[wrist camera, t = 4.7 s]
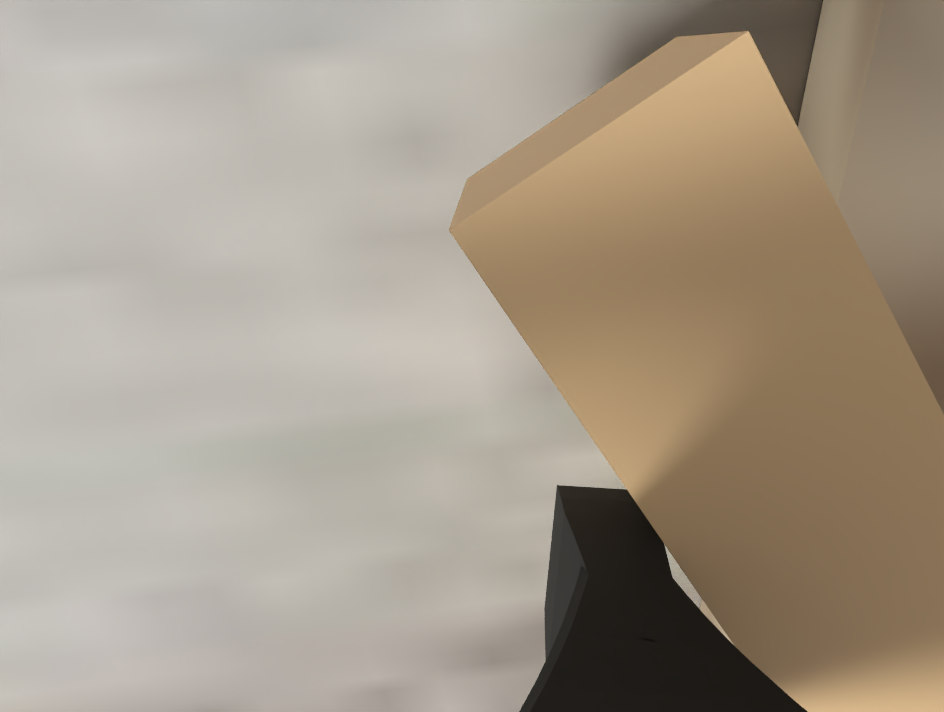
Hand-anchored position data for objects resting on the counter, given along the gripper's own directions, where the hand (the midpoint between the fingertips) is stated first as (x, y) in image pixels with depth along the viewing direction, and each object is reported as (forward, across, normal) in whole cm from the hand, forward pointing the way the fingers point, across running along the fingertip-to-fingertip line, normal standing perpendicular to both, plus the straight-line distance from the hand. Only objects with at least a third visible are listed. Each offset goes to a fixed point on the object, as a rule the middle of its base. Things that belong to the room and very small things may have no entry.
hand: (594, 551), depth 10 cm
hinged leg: (+1, -4, 0) cm, 4 cm away
